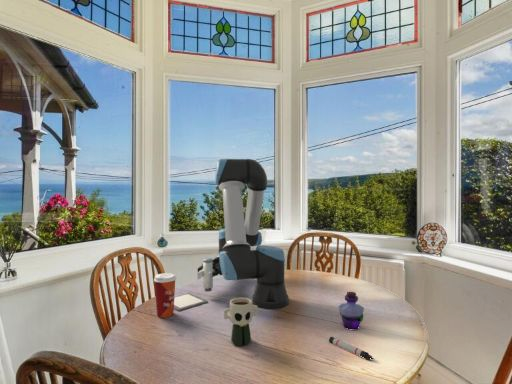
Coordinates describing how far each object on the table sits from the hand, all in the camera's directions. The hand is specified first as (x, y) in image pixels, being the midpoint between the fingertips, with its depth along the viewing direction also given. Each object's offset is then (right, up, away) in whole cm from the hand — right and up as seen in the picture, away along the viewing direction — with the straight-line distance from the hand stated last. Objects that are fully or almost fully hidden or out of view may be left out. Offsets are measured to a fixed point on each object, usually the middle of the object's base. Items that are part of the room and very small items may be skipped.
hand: (203, 276), depth 141 cm
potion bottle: (+55, -12, -23) cm, 61 cm away
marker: (+50, -13, -40) cm, 66 cm away
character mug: (+17, -12, -35) cm, 41 cm away
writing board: (-8, -11, +1) cm, 14 cm away
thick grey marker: (+1, -7, +5) cm, 9 cm away
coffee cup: (-13, -12, -12) cm, 21 cm away
